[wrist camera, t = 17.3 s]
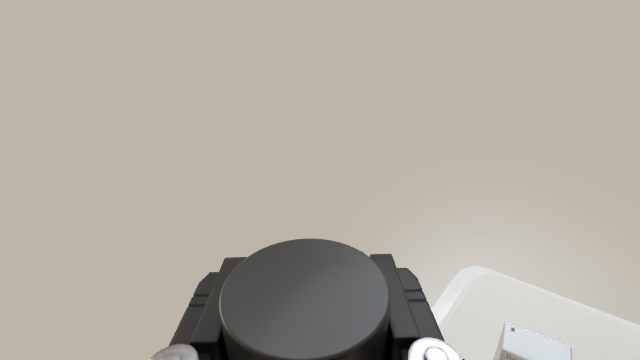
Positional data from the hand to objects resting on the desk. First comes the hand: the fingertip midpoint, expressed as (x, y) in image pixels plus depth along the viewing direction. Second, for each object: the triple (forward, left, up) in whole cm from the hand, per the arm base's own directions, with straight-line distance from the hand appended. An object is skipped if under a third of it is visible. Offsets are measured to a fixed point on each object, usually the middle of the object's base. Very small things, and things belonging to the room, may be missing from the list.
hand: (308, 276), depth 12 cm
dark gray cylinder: (-2, -2, -11) cm, 11 cm away
